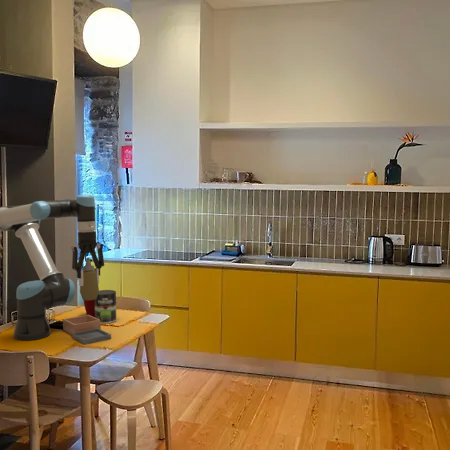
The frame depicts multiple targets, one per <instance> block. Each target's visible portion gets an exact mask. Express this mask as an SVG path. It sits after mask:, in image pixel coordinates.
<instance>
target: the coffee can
mask: <svg viewBox="0 0 450 450" xmlns="http://www.w3.org/2000/svg"><path fill="white" fill-rule="evenodd" d="M95 318H97V319H99V320H100V322H101V324H103V325H104V324H112V323H114V322H117V291H116V290H113V289H103V290H100V289H99V292H98V296H97V299H95Z"/></svg>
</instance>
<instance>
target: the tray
mask: <svg viewBox="0 0 450 450" xmlns="http://www.w3.org/2000/svg"><path fill="white" fill-rule="evenodd" d="M71 335H72V336H71V338H72V339H73V338H74V340H75V339H76V341H77V340H78V341H77V342H79V343H81V344H83V345H88V344H93V343H98V342H102V341H107V340H111V339H112V334H111V333H110V332H107V331H105V330H103V329H102V328H101V329H99V328H97V329H92V330H87V331H82V332H76V333H72V334H71Z"/></svg>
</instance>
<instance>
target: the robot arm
mask: <svg viewBox="0 0 450 450" xmlns="http://www.w3.org/2000/svg"><path fill="white" fill-rule="evenodd" d="M75 198H76V199H71V198H68V199H66V198H65V199H56V200H55V199H54V200H37V201H34V202H32V203H29V204H21V205H8V206H6V205H4V206H0V232H11V231H12V232H13V233H14V235H15V237H16V238H19V239H20V240H21V241H22V244H23V246H24V249H25V250H26V253H27V254H28V257H29V260H30V261H31V264H32V266H33V268H34V270H35V272H36V274H37V276H38V278H39V280H30V281H26V282H23V283H21V284H19V285H18V286H17V288H16V295H15V298H16V312H17V313H16V314H17V320H16V324H15V327H14V331H13V337H14V339H15V340H19V341H35V340H40V339H44V338H47V337H49V336H50V335H51V327H50V324H49V322H48V320H47V316H46V310H47V309H53V308H56V307H60V306H65V305H67V304H70V303H71V302H72V301H73V299H75V293H76V288H75V286H76V285H75V283H74V281H73V280H72V279H70V278H68V277H65V276H64V274H63V272H61V271H58V269H57V266H56V265H55V263H54V261H53V259H52V256H51V255H50V252H49V250H48V248H47V246H46V244H45V242H44V240H43V238H42V236H41V235H40V231H39V229H40V224H41V221H43V220H47V219H48V220H49V219H59V218H62V219H63V218H73V217H74V218H75V217H76V218H77V241H78V243H77V245H75V246H74V245H73V246H71V250H72V259H71V261H72V262H71V263H72V264H71V268H72V270H74V271H76V278H77V279H78V284H79V286H83V271H84V270H83V266H84V261H85V257H86V255H87V254H90V256H91V258H92V261H93V264H94V271H96V273H97V280H98V285H99V284H100V280H99V279H100V277H99V276H101V269H102V268H103V267H105V259H104V251H103V247H104V244H102V243H98V242H97V232H96V227H97V225H96V224H97V223H96V202H95V196H94V195H92V194H78V195H77V196H76V197H75ZM96 249H97V250H96ZM79 250H80V251H79ZM96 251H97V252H96Z"/></svg>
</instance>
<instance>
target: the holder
mask: <svg viewBox="0 0 450 450" xmlns="http://www.w3.org/2000/svg"><path fill="white" fill-rule="evenodd" d="M101 325H102V323H101V322H100V320H99V319H97V318H95V317H92V316H90V315H86V314H85V315H80V316H73V317H69V318H63V319H62V327H63V329H62V330H63V331H64V332H66V333H68V334H70V335H72V333H76V332H82V331H87V330H92V329H97V328H99V329H101V330H102V328H101Z"/></svg>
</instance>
